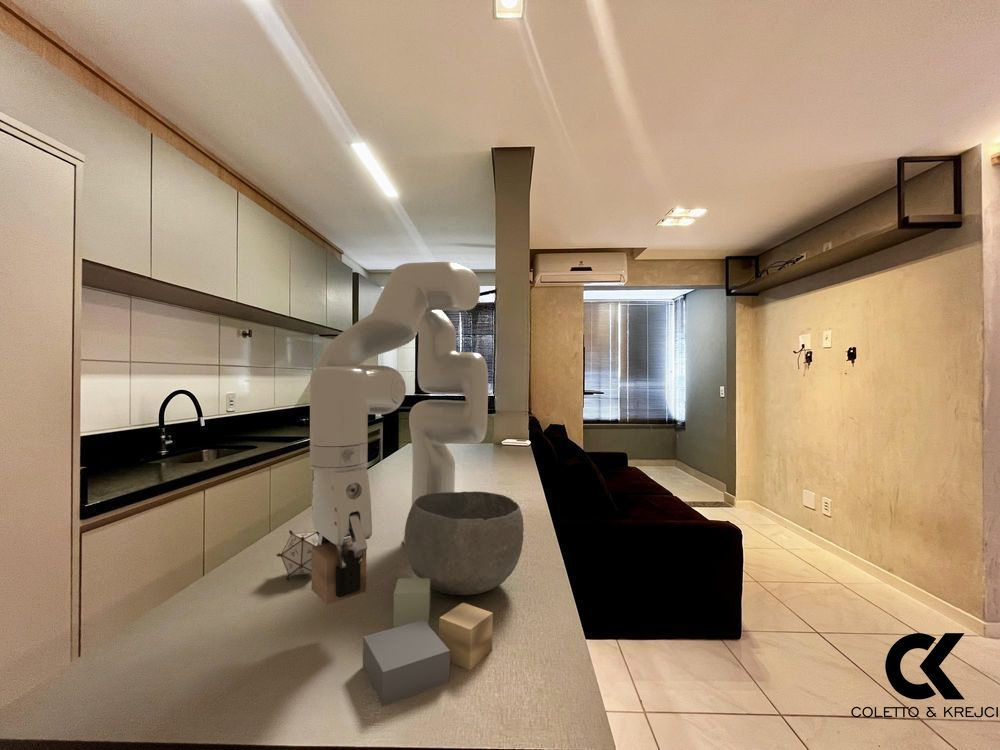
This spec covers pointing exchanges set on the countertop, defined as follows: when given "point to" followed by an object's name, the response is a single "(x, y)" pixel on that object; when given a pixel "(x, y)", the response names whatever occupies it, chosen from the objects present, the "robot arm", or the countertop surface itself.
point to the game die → (299, 553)
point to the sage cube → (411, 601)
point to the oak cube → (466, 634)
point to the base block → (405, 661)
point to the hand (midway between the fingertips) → (338, 583)
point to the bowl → (464, 540)
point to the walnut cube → (331, 572)
